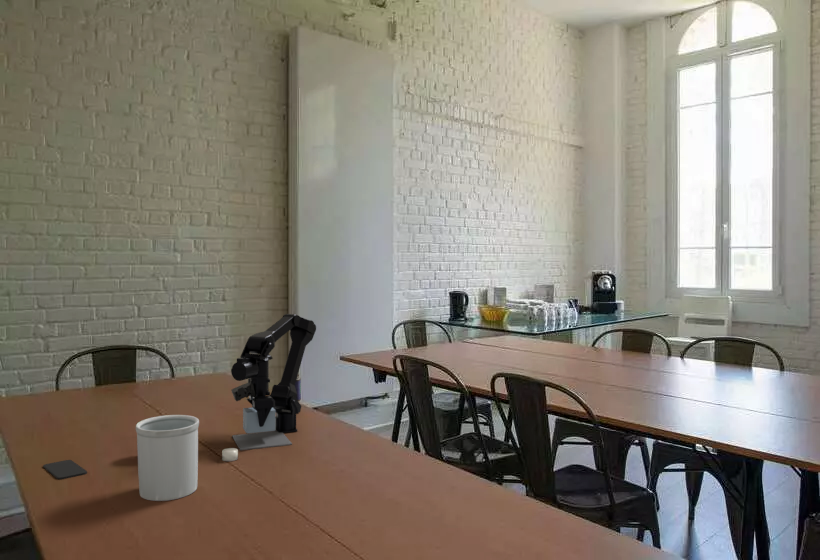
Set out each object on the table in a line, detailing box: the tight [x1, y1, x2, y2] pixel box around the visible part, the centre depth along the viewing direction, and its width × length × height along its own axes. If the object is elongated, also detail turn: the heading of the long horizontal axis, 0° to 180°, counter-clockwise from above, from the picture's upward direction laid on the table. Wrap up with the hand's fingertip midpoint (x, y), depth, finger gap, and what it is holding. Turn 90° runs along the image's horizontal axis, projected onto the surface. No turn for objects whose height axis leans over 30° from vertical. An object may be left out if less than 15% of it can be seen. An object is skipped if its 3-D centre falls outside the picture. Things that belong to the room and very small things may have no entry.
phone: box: [42, 459, 88, 481], centre depth 174 cm, size 7×1×15 cm
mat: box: [231, 430, 293, 451], centre depth 204 cm, size 16×16×1 cm
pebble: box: [221, 447, 239, 462], centre depth 185 cm, size 4×4×2 cm
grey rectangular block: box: [242, 406, 276, 434], centre depth 202 cm, size 9×6×6 cm
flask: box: [295, 373, 302, 402], centre depth 263 cm, size 9×3×11 cm, turn 8°
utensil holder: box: [135, 414, 200, 502], centre depth 159 cm, size 15×15×18 cm
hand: (259, 423), depth 202 cm, fingers closed on grey rectangular block, 6 cm apart
